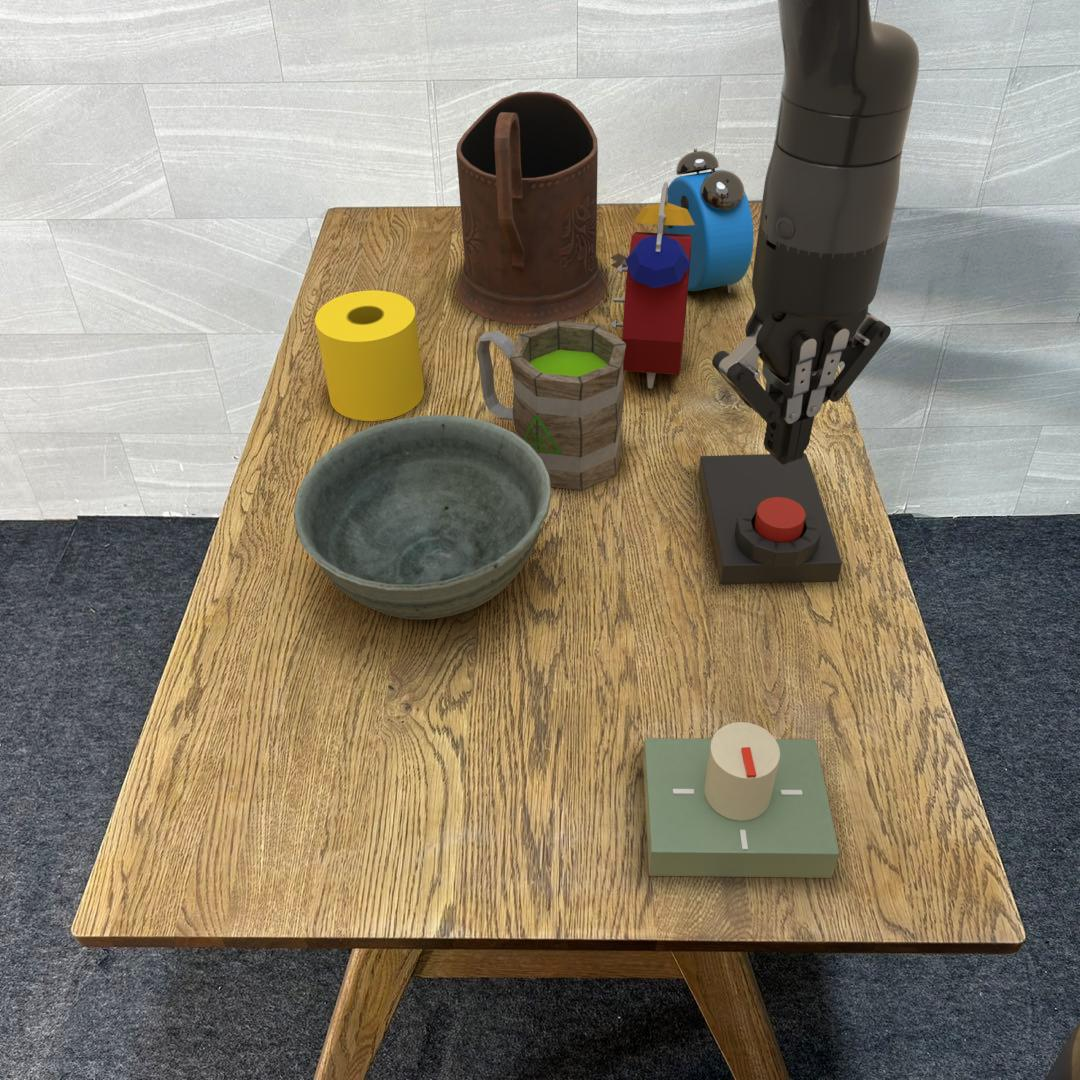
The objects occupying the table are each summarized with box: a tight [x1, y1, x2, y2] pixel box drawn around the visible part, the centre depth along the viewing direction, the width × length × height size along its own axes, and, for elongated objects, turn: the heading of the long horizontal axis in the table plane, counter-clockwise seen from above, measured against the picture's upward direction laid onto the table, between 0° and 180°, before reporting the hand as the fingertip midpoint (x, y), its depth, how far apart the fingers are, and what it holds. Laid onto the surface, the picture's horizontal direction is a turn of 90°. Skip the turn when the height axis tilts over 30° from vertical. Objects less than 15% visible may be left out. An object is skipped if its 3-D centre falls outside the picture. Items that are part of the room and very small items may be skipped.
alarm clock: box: [665, 148, 755, 294], centre depth 122 cm, size 13×6×15 cm, turn 18°
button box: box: [698, 452, 843, 585], centre depth 93 cm, size 15×10×4 cm, turn 1°
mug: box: [476, 320, 626, 491], centre depth 99 cm, size 16×11×12 cm
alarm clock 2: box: [604, 181, 695, 390], centre depth 108 cm, size 15×9×20 cm, turn 171°
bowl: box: [293, 414, 552, 620], centre depth 87 cm, size 21×21×10 cm
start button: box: [755, 497, 805, 543], centre depth 88 cm, size 4×4×2 cm
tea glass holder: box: [455, 91, 608, 325], centre depth 117 cm, size 18×24×25 cm
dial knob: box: [704, 721, 780, 821], centre depth 68 cm, size 4×4×5 cm
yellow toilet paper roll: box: [314, 289, 425, 422], centre depth 108 cm, size 10×10×9 cm
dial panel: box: [642, 737, 840, 879], centre depth 71 cm, size 12×9×3 cm
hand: (783, 455), depth 73 cm, fingers closed
